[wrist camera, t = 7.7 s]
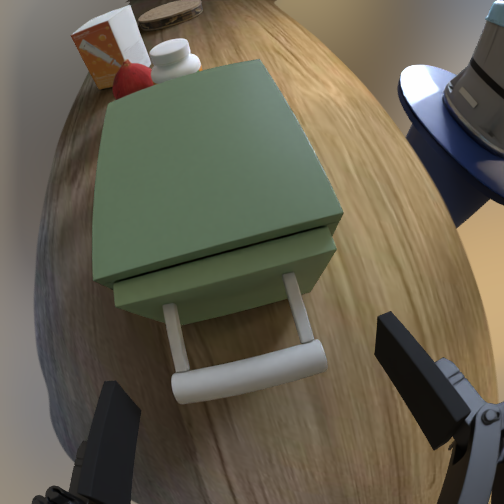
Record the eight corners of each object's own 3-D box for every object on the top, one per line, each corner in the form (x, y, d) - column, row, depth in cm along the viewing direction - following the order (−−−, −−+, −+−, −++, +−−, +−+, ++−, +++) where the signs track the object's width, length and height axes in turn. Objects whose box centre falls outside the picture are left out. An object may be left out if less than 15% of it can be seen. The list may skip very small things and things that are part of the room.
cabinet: (311, 277, 21) (344, 212, 11) (170, 314, 21) (92, 280, 11) (265, 148, 26) (259, 58, 16) (153, 179, 26) (107, 103, 16)
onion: (124, 125, 29) (99, 80, 22) (124, 103, 31) (104, 62, 24) (165, 108, 30) (146, 59, 22) (162, 87, 32) (145, 44, 24)
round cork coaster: (152, 34, 41) (148, 24, 39) (134, 26, 47) (131, 17, 44) (214, 11, 44) (212, 2, 41) (187, 5, 49) (185, -3, 46)
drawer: (330, 356, 18) (372, 359, 10) (190, 390, 18) (135, 413, 9) (265, 161, 24) (260, 84, 16) (157, 191, 24) (116, 126, 16)
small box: (98, 91, 34) (69, 35, 22) (116, 70, 36) (92, 17, 24) (135, 84, 33) (107, 19, 21) (152, 63, 35) (131, 3, 23)
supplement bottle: (199, 128, 28) (178, 57, 19) (160, 125, 29) (132, 61, 19) (217, 100, 29) (203, 33, 20) (180, 98, 30) (160, 37, 21)
